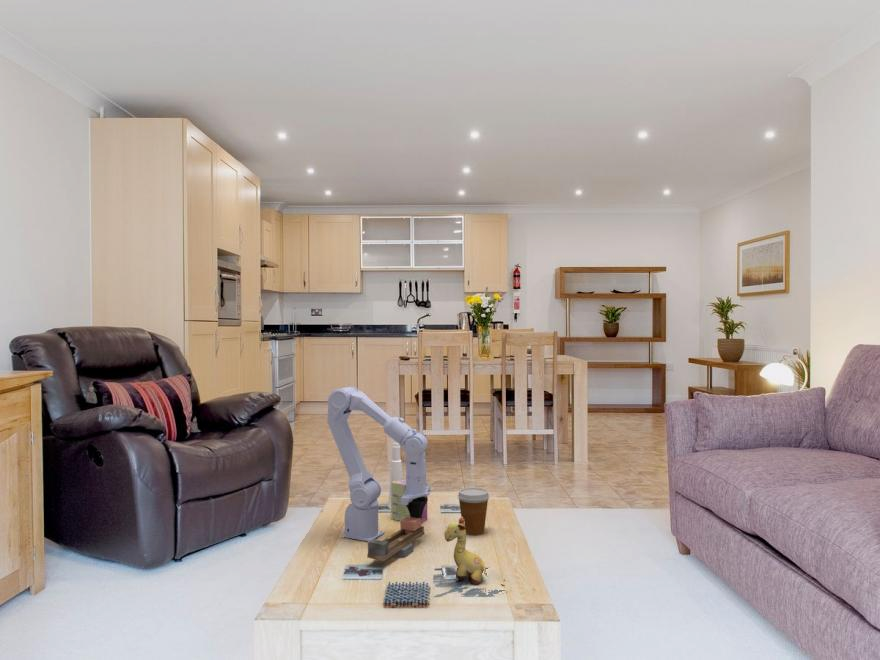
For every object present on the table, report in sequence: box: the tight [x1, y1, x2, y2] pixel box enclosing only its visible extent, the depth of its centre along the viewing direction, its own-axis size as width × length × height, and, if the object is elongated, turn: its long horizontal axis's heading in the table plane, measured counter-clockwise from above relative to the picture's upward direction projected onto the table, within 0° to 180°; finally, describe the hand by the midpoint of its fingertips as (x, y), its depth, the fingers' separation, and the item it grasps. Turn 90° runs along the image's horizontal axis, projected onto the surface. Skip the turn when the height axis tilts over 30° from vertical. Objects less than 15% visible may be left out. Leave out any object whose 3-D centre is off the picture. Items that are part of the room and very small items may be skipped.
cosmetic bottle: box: [387, 442, 404, 509], centre depth 204 cm, size 6×6×22 cm
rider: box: [399, 516, 422, 534], centre depth 170 cm, size 4×4×4 cm
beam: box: [366, 525, 425, 561], centre depth 163 cm, size 7×22×6 cm, turn 154°
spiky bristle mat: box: [382, 581, 431, 609], centre depth 135 cm, size 10×11×2 cm
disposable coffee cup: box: [457, 487, 490, 536], centre depth 180 cm, size 10×10×12 cm
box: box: [390, 479, 429, 524], centre depth 191 cm, size 10×6×12 cm, turn 58°
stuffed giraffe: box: [432, 516, 505, 598], centre depth 144 cm, size 16×18×16 cm
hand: (416, 523), depth 172 cm, fingers closed
